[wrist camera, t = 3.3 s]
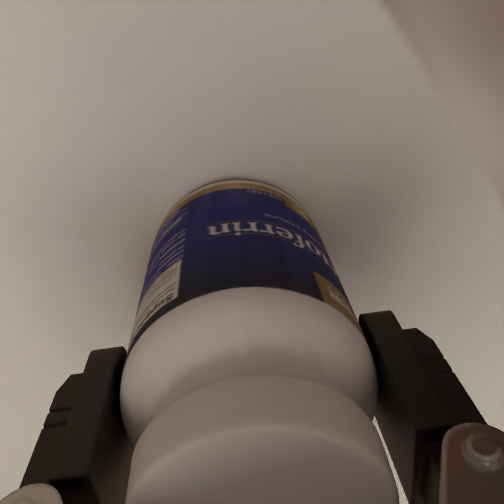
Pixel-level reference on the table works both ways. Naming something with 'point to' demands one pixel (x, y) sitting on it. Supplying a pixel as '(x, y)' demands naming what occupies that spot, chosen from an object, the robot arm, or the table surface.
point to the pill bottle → (249, 363)
